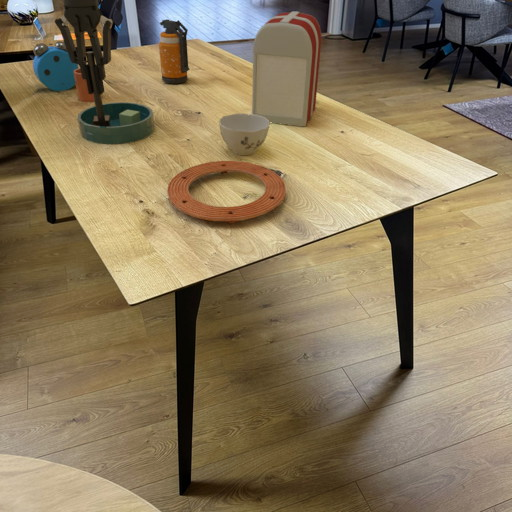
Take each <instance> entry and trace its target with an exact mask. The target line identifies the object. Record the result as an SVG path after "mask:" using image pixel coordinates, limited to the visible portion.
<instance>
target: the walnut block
mask: <svg viewBox="0 0 512 512" xmlns="http://www.w3.org/2000/svg"><path fill="white" fill-rule="evenodd" d="M105 121H106V127H111V121H110V115H105ZM93 123H94V125H95V126H99V123H98V117H97V116H94V120H93Z"/></svg>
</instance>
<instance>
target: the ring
mask: <svg viewBox="0 0 512 512" xmlns="http://www.w3.org/2000/svg"><path fill="white" fill-rule="evenodd" d="M229 172H231V173H232V172H233V173H242V174H245V175H248V176H252V177H253V178H256V179H257V180H258V181H260V182H261V183H262V184H263V186H264V192H263V194H262V195H261V196H260V197H258V198H257V199H255V200H253V201H252V202H248V203H245V204H241V205H236V206H235V205H234V206H216V205H210V204H208V203H207V204H206V203H203V202H201V201H199V200H197V199H195V197H194V196H192V195H191V193H190V186H191V185H192V184H193V183H194V182H195V181H196V180H198V179H200V178H201V177H204V176H207V175H210V174H215V173H220V174H221V175H227V174H228V173H229ZM166 190H167V192H166V193H167V197H168V200H169V201H170V203H171V204H172V205H173V206H174V207H175V208H176V209H177V210H179V211H180V212H181V213H183V214H185V215H188V216H190V217H192V218H196V219H200V220H206V221H210V222H211V221H212V222H227V223H228V224H234V223H236V222H237V221H245V220H251V219H254V218H258V217H261V216H263V215H265V214H267V213H270V212H272V211H273V210H275V209H277V208H278V207H279V206H280V205H281V204H282V203H283V202H284V200H285V198H286V196H287V195H286V194H287V187H286V183H285V182H284V180H283V179H282V177H281V176H280V175H278V173H276V172H275V171H273V170H271V169H269V168H267V167H265V166H263V165H260V164H256V163H252V162H247V161H240V160H217V161H209V162H204V163H200V164H197V165H194V166H191V167H188V168H185V169H183V170H182V171H180V172H178V173H177V174H175V175H174V176H173V177H172V178H171V179H170V181H169V182H168V185H167V189H166Z"/></svg>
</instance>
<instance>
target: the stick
mask: <svg viewBox="0 0 512 512" xmlns="http://www.w3.org/2000/svg"><path fill="white" fill-rule="evenodd" d="M86 58H87V64H88V68H89V73H90V79H91V84H92V90H93V95H94V106H96V112H97V117H98V123H99V126H103V127H106V121H105V116H104V110H103V104H104V103H103V97H102V98H101V94H98V89H97V83H96V78H95V72H94V67H95V65H96V61H95V57H94V53H93V51H86Z"/></svg>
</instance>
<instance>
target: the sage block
mask: <svg viewBox="0 0 512 512" xmlns="http://www.w3.org/2000/svg"><path fill="white" fill-rule="evenodd" d="M119 118H120V124H121V126H124V125H130V124H134V123H137V122H140V121H141V119H140V112H139V111H133V110H126V111H124V112H122V113H120V114H119Z"/></svg>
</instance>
